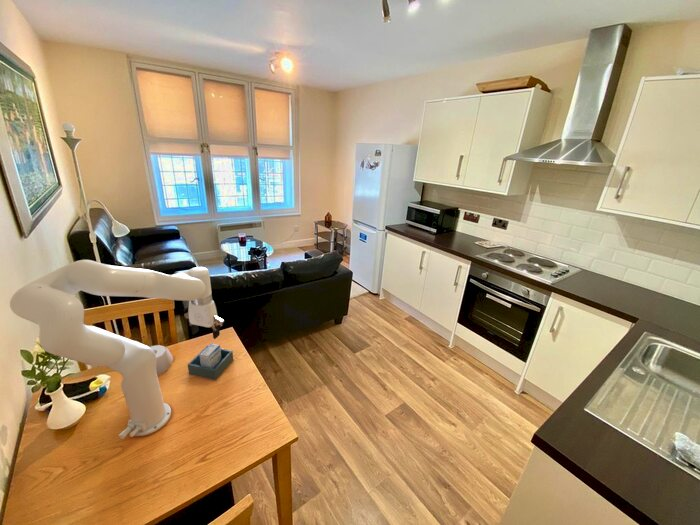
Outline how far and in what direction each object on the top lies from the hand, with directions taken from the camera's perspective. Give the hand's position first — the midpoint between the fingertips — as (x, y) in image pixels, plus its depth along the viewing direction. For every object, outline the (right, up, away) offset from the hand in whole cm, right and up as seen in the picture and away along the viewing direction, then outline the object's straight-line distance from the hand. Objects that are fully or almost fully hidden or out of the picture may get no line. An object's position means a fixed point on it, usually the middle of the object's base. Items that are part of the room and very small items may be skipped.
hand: (206, 334), depth 118 cm
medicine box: (-1, -15, +7) cm, 17 cm away
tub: (-1, -16, +7) cm, 17 cm away
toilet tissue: (-23, -15, +5) cm, 28 cm away
